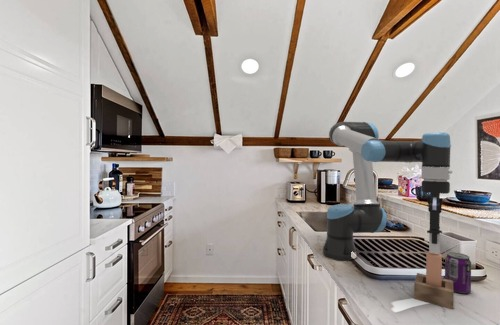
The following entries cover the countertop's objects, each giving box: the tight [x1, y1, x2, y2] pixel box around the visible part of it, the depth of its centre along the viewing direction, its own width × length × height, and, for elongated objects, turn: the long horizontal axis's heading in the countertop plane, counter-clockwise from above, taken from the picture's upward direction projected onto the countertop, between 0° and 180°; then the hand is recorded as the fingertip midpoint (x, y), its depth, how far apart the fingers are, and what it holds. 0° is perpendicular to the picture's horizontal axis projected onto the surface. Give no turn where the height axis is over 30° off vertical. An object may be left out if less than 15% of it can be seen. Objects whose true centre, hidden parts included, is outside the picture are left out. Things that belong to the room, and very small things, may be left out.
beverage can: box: [444, 251, 472, 294], centre depth 91 cm, size 7×7×12 cm
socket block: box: [413, 272, 455, 310], centre depth 86 cm, size 10×10×5 cm
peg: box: [425, 250, 443, 287], centre depth 86 cm, size 4×4×14 cm
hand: (434, 252), depth 86 cm, fingers closed
